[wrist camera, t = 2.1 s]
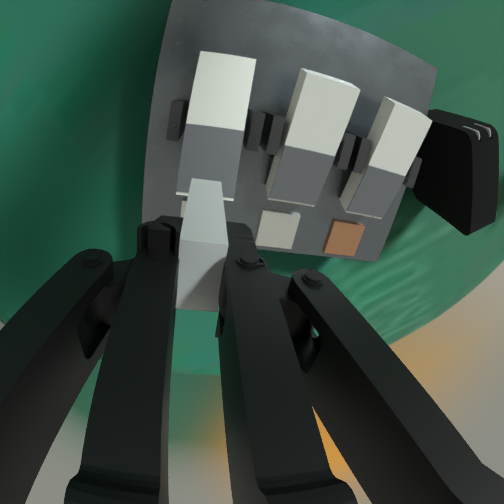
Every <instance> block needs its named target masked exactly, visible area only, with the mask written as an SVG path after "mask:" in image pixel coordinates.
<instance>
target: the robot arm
mask: <svg viewBox="0 0 504 504" xmlns="http://www.w3.org/2000/svg"><path fill="white" fill-rule="evenodd" d="M218 305H219V315H218V321H217V327H216V334H215V337H218V341H219V357H220V372H221V386H222V398H223V410H224V422H225V433H226V444H227V453H228V463H229V472H230V481H231V490H232V498H233V504H358V503H357V500H356V497H355V495H354V493H353V491H352V489H351V488H350V486H349V485H348V484H347V483H346V482H344V481H342V480H340V479H337V478H336V477H335V476H334V475H333V474H332V472H331V469H330V467H329V463H328V460H327V456H326V453H325V449H324V446H323V443H322V439H321V435H320V432H319V429H318V425H317V422H316V419H315V415H314V412H313V408H314V410H315V412H316V413H317V415H318V417H319V418H320V420H321V421H322V423H323V425H324V426H325V428H326V430H327V432H328V433H329V435H330V436H331V438H332V440H333V441H334V443H335V445H336V446H337V448H338V450H339V451H340V453H341V455H342V456H343V458H344V459H345V461H346V463H347V464H348V466H349V467H350V469H351V471H352V472H353V474H354V476H355V477H356V479H357V480H358V482H359V484H360V485H361V487H362V488H363V490H364V491H365V493H366V495H367V496H368V498H369V499H370V501H371V503H372V504H504V478H502V477H501V476H499V475H498V474H497V473H495V472H494V471H492V470H491V469H489V468H488V467H486V466H485V465H484V464H482V463H481V461H480V460H479V459H478V457H477V456H476V455H475V454H474V452H473V451H472V449H471V448H470V447H469V445H468V444H467V443H466V441H465V440H464V439H463V437H462V436H461V435H460V433H459V432H458V431H457V430H456V428H455V427H454V426H453V424H452V423H451V422H450V421H449V419H448V418H447V417H446V415H445V414H444V413H443V412H442V410H441V409H440V408H439V407H438V405H437V404H436V403H435V402H434V400H433V399H432V398H431V397H430V395H429V394H428V393H427V392H426V391H425V389H424V388H423V387H422V386H421V384H420V383H419V382H418V381H417V379H416V378H415V377H414V376H413V375H412V373H411V372H410V371H409V370H408V369H407V367H406V366H405V365H404V364H403V363H402V361H401V360H400V359H399V358H398V357H397V355H396V354H395V353H394V352H393V351H392V350H391V348H390V347H389V346H388V345H387V344H386V343H385V341H384V340H383V339H382V338H381V337H380V336H379V334H378V333H377V332H376V331H375V330H374V329H373V328H372V326H371V325H370V324H369V323H368V322H367V321H366V319H365V318H364V317H363V316H362V315H361V314H360V313H359V312H358V310H357V309H356V308H355V307H354V306H353V305H352V304H351V303H350V301H349V300H348V299H347V298H346V297H345V296H344V295H343V294H342V292H341V291H340V290H339V289H338V288H337V287H336V286H335V285H334V284H333V282H332V281H331V280H330V279H329V278H328V277H326V276H325V275H324V274H322V273H320V272H319V271H317V270H313V269H306V268H301V269H297V270H296V271H294V272H293V274H292V278H289V277H286V276H282V275H279V274H276V273H273V272H271V271H270V268H269V265H268V263H267V261H266V260H265V259H263V258H262V257H261V256H259V255H258V252H257V248H256V244H255V242H254V237H253V234H252V230H251V229H250V228H249V227H248V226H247V225H246V224H245V223H237V222H228V221H226V219H225V211H224V202H223V193H222V184H221V182H220V181H212V180H204V179H195V178H192V180H191V184H190V189H189V194H188V198H187V203H186V208H185V213H184V217H174V216H164V215H161V216H160V217H158V218H157V219H156V220H155V221H148V222H145V223H143V224H140V226H139V227H138V228H137V254H136V256H135V258H133V259H130V260H125V261H116V262H113V261H112V256H111V255H110V253H109V252H107V251H104V250H101V249H87V250H84V251H81V252H79V253H78V254H76V255H75V256H74V257H73V258H71V259H70V260H69V261H68V262H67V263H66V264H65V265H64V266H63V267H62V268H61V269H60V270H58V271H57V272H56V273H55V274H54V275H53V276H52V277H51V278H50V279H49V280H48V281H47V282H46V283H45V284H44V285H43V286H42V287H41V288H40V289H39V290H38V291H37V292H36V293H35V294H34V295H33V296H32V297H31V298H30V299H29V300H28V301H27V302H26V303H25V304H24V305H23V306H22V307H21V308H20V309H19V310H18V312H17V313H16V314H15V315H14V316H13V317H12V318H11V319H10V320H9V321H8V322H7V324H6V325H5V326H4V327H3V328H2V329H1V330H0V504H25V502H26V500H27V497H28V495H29V492H30V490H31V488H32V486H33V483H34V481H35V479H36V477H37V475H38V472H39V470H40V468H41V466H42V464H43V462H44V459H45V458H46V455H47V453H48V451H49V449H50V447H51V445H52V443H53V441H54V439H55V437H56V435H57V434H58V432H59V430H60V428H61V426H62V424H63V422H64V420H65V418H66V416H67V415H68V413H69V411H70V409H71V407H72V405H73V404H74V402H75V399H76V398H77V396H78V394H79V393H80V391H81V389H82V387H83V386H84V384H85V382H86V381H87V379H88V377H89V375H90V374H91V372H92V370H93V369H94V367H95V365H96V364H97V361H98V360H99V359H100V357H101V355H102V354H103V352H104V354H103V358H102V362H101V366H100V370H99V374H98V378H97V382H96V386H95V390H94V394H93V399H92V404H91V408H90V413H89V418H88V423H87V429H86V434H85V440H84V446H83V452H82V459H81V465H80V469H79V472H78V474H77V475H75V476H74V477H73V478H72V479H70V481H69V483H68V486H67V488H66V493H65V498H64V504H169V498H168V426H169V425H168V424H169V399H170V380H171V379H170V378H171V364H172V350H173V338H174V327H175V312H176V308H178V309H189V310H200V311H213V312H217V311H218ZM314 328H315V329H316V330H317V332H318V333H319V336H318V337H317V336H316V334H315V333H314V332H313V330H314ZM104 350H105V351H104ZM312 406H313V408H312Z"/></svg>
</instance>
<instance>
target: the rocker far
mask: <svg viewBox="0 0 504 504" xmlns="http://www.w3.org/2000/svg"><path fill="white" fill-rule="evenodd" d="M431 123H432V120H431V119H429V118H428V117H427V116H425V115H424V114H422V113H421V112H419V111H417V110H415V109H413V108H411V107H409V106H406V105H404V104H402V103H400V102H397V101H395V100H393V99H391V98H388V97H386V96H384V98H383V100H382V103H381V105H380V108H379V110H378V113H377V115H376V118H375V120H374V122H373V125H372V127H371V130H370V132H369V134H368V137H367V139H368V140H371V144H370V148H369V151H368V155H367V158H366V161H365V165H364V168H363V172H362V174H360V173H356V172H353V171H352V173H351V175H350V177H349V180H348V182H347V184H346V186H345V188H344V190H343V193H342V195H341V197H340V199H339V200H340V202H341V204H342V206H343V208H344V210H345V212H347V213H353V214H358V215H363V216H368V217H374V218H379V219H381V218H383V217H384V215H385V213H386V212H387V210H388V208H389V206H390V205H391V203H392V201H393V199H394V197H395V196H396V194H397V192H398V190H399V188H400V187H401V185H402V183H403V181H404V179H405V176H406V174H407V172H408V170H409V168H410V166H411V164H412V162H413V160H414V158H415V156H416V154H417V152H418V150H419V148H420V146H421V144H422V142H423V140H424V138H425V136H426V134H427V132H428V130H429V128H430V125H431Z"/></svg>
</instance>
